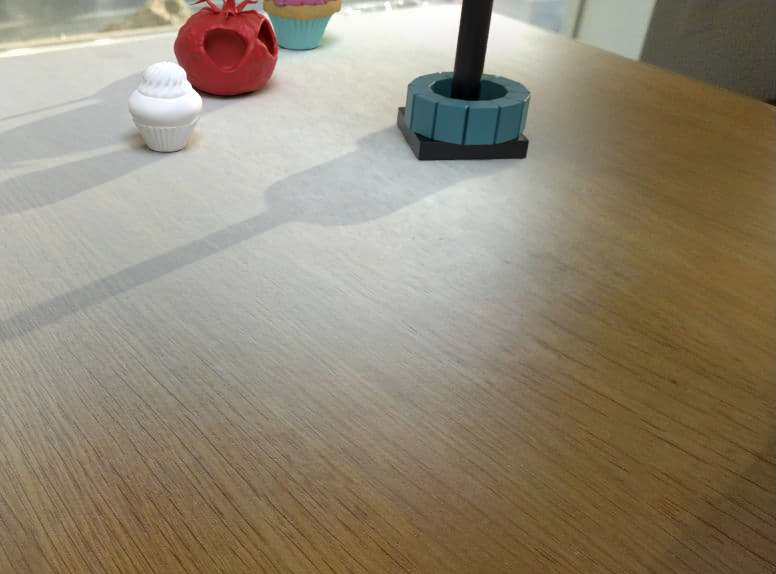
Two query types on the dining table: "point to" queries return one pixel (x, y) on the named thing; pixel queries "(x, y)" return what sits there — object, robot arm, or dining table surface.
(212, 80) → the pomegranate
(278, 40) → the cupcake
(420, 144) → the stand
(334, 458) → the dining table surface
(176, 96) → the muffin
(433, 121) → the ring
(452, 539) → the dining table surface
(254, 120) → the dining table surface
